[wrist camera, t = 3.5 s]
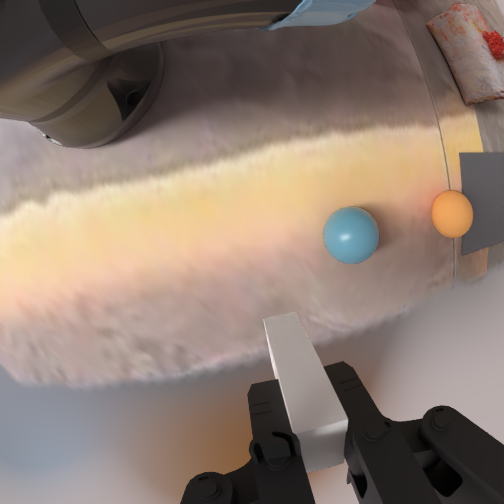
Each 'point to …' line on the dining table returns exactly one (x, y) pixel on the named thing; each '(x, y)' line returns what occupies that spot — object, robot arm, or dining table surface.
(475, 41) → the food item
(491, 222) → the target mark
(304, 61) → the dining table surface
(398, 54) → the dining table surface
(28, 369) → the dining table surface
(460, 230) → the object ball
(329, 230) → the blue ball
